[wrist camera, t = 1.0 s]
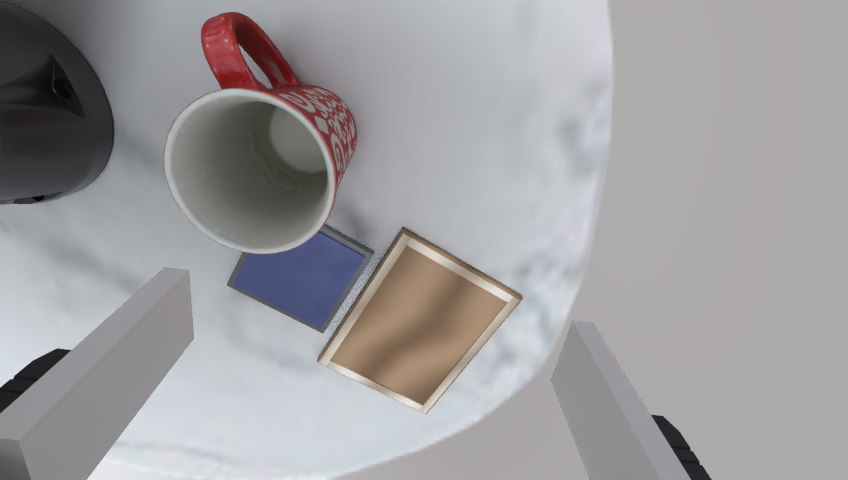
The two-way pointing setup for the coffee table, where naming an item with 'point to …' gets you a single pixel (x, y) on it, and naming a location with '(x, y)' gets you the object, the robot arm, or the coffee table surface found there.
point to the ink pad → (304, 277)
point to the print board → (417, 323)
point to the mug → (257, 146)
